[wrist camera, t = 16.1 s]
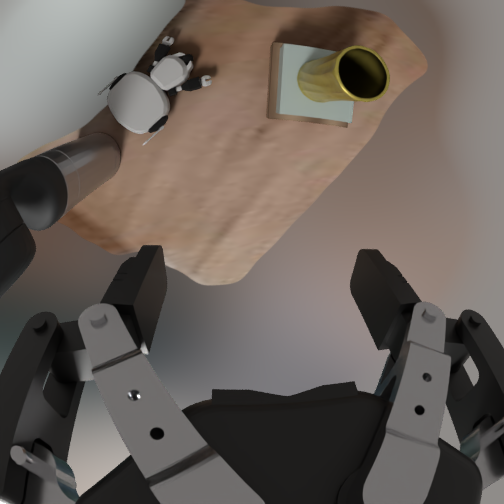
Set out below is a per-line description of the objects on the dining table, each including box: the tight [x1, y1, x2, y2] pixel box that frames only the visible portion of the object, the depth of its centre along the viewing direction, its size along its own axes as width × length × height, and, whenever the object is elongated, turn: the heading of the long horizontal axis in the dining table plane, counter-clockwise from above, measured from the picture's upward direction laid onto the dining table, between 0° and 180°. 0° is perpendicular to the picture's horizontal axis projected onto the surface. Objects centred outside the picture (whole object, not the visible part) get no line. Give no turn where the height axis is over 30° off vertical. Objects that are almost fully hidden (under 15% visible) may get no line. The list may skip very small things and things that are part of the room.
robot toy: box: [98, 36, 212, 145], centre depth 35 cm, size 12×4×15 cm
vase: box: [297, 46, 390, 103], centre depth 24 cm, size 6×6×14 cm
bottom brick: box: [266, 42, 348, 128], centre depth 35 cm, size 12×12×4 cm
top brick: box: [276, 44, 354, 123], centre depth 32 cm, size 10×10×4 cm
